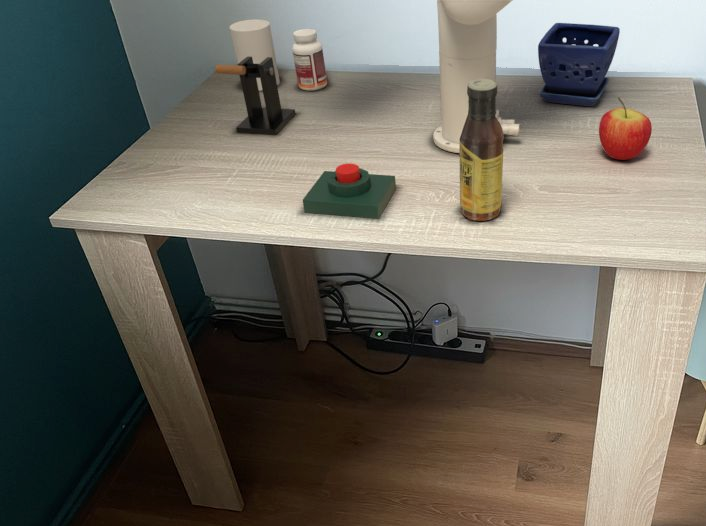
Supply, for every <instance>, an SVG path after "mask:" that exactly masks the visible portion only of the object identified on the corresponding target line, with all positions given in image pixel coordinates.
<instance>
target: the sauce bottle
mask: <svg viewBox="0 0 706 526" xmlns="http://www.w3.org/2000/svg"><path fill="white" fill-rule="evenodd" d="M467 95H468V97H469V100H468V103H469V109H468V115H467V118H466V121H465V124H464V127H463V130H462V133H461V136H460V146H459V148H460V153H459V204H460V212H461V214H462V215H463V216H464V217H465V218H467V219H468V220H470V221H479V222H483V221H485V222H486V221H490V220H493V219H496V218H497V217H498V216H499V214H500V212H501V205H502V195H503V172H504V170H503V169H504V167H503V166H504V148H503V147H504V144H503V143H504V139H503V130H502V127H501V125H500V122H498V120H497V118H496V116H495V115H496V110H497V109H496V103H497V96H498V83H497V81H496V82H495V81H493V80H489V79H476V80H473V81H471V82H470V83H468V86H467Z"/></svg>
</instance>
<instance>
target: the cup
mask: <svg viewBox="0 0 706 526" xmlns="http://www.w3.org/2000/svg"><path fill="white" fill-rule="evenodd" d="M270 24H271V23H270V22H269V21H268V20H265V19H244V20H240V21H236V22H234V23H232V24H230V26H229V32H230V36H231V41H232V46H233V52H234V56H235V61H236V65H237V64H239V63H240V62H241V61H242V60H244V59H245V58H246V57H247V56H249V57H252V59H253V64H260V63H261V62H262V61H263V60H265V59H266V58H267V57H272V59H273V65H274V71H275V76H276V82H277V86H279V85H280V83H281V81H280V76H279V70H278V63H277V58H276V53H275V46H274V41H273V36H272V30H271V25H270ZM256 79H257V84H258V89H259V92H261V91H263V90H262V85H261V80H260V78H256ZM240 84H241V83H240ZM241 86H242V84H241Z"/></svg>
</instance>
